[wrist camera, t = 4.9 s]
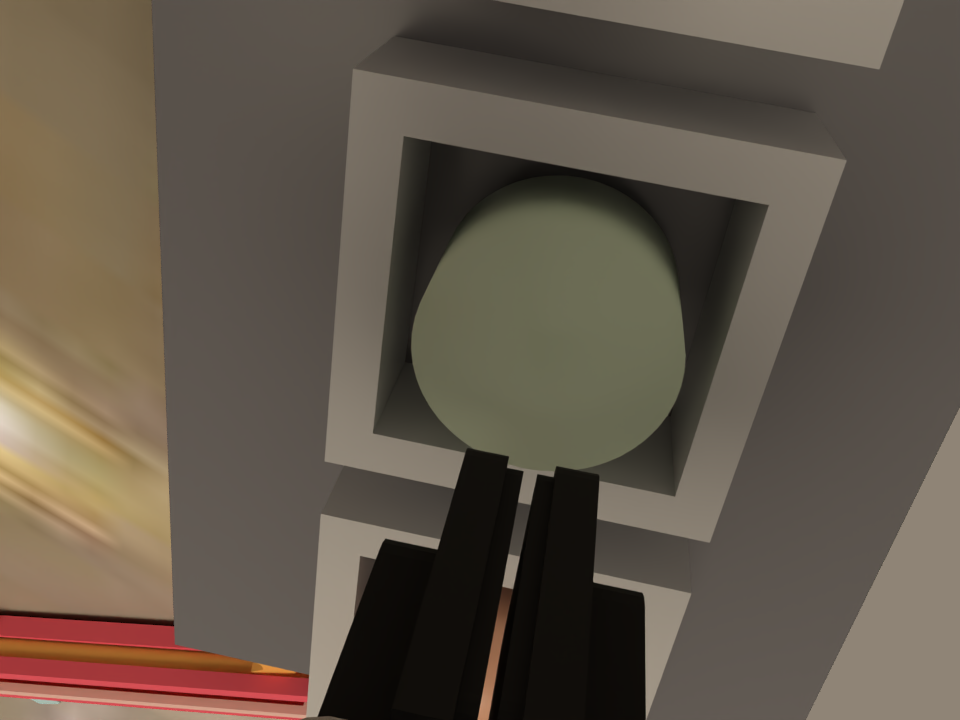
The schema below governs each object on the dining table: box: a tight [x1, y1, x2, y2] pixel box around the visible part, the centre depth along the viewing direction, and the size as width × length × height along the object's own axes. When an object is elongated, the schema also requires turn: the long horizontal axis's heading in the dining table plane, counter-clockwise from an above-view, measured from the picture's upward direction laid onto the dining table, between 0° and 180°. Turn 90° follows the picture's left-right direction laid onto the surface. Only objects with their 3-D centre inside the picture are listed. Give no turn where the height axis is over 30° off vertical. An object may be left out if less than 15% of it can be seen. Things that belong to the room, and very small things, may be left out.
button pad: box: [152, 0, 960, 720], centre depth 16 cm, size 24×15×4 cm, turn 172°
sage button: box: [411, 176, 686, 471], centre depth 14 cm, size 4×4×2 cm
